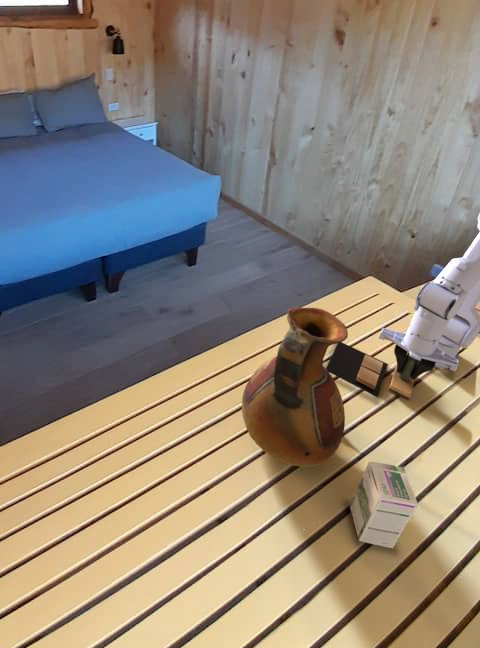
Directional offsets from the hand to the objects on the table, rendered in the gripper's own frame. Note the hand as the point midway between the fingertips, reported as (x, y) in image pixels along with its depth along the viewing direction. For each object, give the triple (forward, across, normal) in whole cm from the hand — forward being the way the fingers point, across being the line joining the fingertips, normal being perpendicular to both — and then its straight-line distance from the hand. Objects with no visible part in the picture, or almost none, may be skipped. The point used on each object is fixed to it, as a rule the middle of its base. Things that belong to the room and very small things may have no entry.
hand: (405, 373), depth 94 cm
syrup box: (+5, +1, -36) cm, 36 cm away
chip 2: (+3, -6, -4) cm, 8 cm away
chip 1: (+3, -6, 0) cm, 7 cm away
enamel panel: (+5, -9, -2) cm, 11 cm away
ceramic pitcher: (+5, -17, -28) cm, 33 cm away
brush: (+4, 0, 0) cm, 4 cm away
